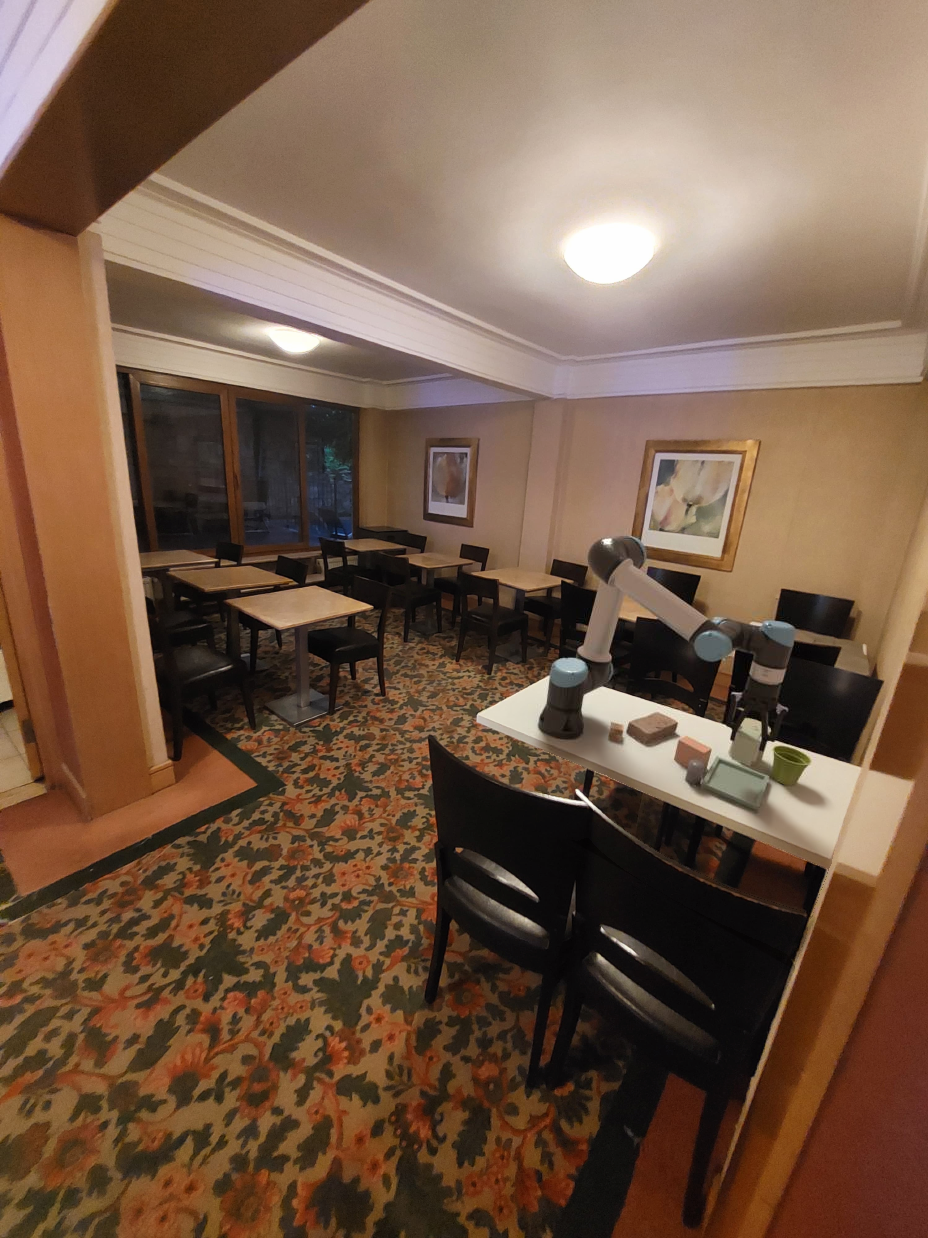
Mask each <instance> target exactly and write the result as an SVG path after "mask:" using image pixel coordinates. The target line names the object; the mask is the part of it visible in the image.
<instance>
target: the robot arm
mask: <svg viewBox="0 0 928 1238" xmlns="http://www.w3.org/2000/svg"><path fill="white" fill-rule="evenodd" d="M646 560H647V549H646V547H645V545H644V544H643V542H642V541H641V540H640V539H639V538H637V537H636V536H631V535H619V536H610V537H602V538H599V539H598V540H596V541H594V543H593V544H592V545H591V547H590V548H589V550H588V552H587V564H588V567H589V569H590V570H591V572H592V573H593V574H594V575H595V576H596V577H597V578H598V579H599V584H598V588H597V592H596V595H595V599H594V603H593V606H592V612H591V614H590V615H591V616H590V619H589V623H588V628H587V630H586V634H585V638H584V643H583V645H581V646H579V647H578V648H577V651H576V655H575V657H567V658H566V657H562V658H559V659H557V660H555V661H554V662H553V663H552V664H551V667H550V668H551V669H550V671H549V681H548V688H547V694H546V695H547V696H546V703H545V705H544V707H543V709H542V711H541V712H540V715H539V717H538V727H539V729H540V730H541V731H542V732H543V733H545V734H546V733H547V734H546V735H548V734H549V735H548V736H550V737H553V736H554V738H557V739H564V740H572V739H573V740H574V739H576V738H579V737H581V736H582V735H583V734H584V731H585V722H584V716H583V711H582V709H583V702H584V697H585V695H587V694H589V693H592V692H593V691H595V690H597V689H600V688H602V687H604V686H605V685H606V684H607V683H608V682H609V681H610V680H611V678H612V676H613V674H614V666H613V663H612V655H611V653H610V648H611V645H612V642H613V638H614V635H615V631H616V628H617V624H618V620H619V616H620V612H621V610H622V607H623V602H624V599H625V595H627V596H628V597H629V598H631V599H632V600H633V601H634V602H636V604H639V605H640V606H641V607H643V608H644V609H645V610H646V611H648V612H649V613H650V614H652V615H653V616H655V617H656V618H657V619H659V620H660V621H661V622H662V623H663V624H665V625H666V626H668V627H669V628H670V629H672V630H673V631H675V632H676V633H677V634H678V635H680V636H681V637H683V638H684V639H685V640H686V641H688V642H689V643H690V644H691V645H692V646H693V647H694V648H693V649H694V651H695V653H696V655H697V656H698V657H699V658H700V659H702V660H704V661H707V662H717V661H720V660H723V659H724V658H727V657H729V655H730V654H732V653H733V652H734V651H741V652H744V653H748V654H753V658H752V662H751V666H750V670H749V675H748V677H747V680H746V681H747V682H746V685H745V688H744V690H743V691H742V692H737V691H732V692H731V694H730V696H729V697H730V701H731V702H730V706H729V711H728V713H727V719H726V722H725V726H726V727H727V728H729V729H731V734H730V737H729V739H730V741H731V742H732V741H734V743H733V747H732V751H731V753H732V754H733V752H734V748H735V744H736V741H737V737H738V735H739V733H740V731H741V730H740V729H739V727H740V725H741V724H742V722H743V721H744V719H745V718H747V716H748V714H749V713H750V711H752V712H757V713H758V714H760V718H761V720H760V722H761V734H762V737H759V739H758V742H757V745H756V749H755V752H754V756H753V759H752V761H754V762H755V761H756V758H757V755H758V752H759V750H760V751H762V752H763V751H764V749H765V750H766V747H767V744H766V742H767V743H768V742H772V743H774V742H776V740H777V737H778V735H779V734H778V733H779V731H780V727H781V724H782V721H783V719H784V717H786V715H787V714H788V712H789V707H787V706H783V705H782V704H781V703H779V700H778V698H779V695H780V690H781V688H782V682H783V680H784V677H785V675H786V671H787V666H788V663H789V660H790V656H791V654H792V650H793V647H794V645H795V643H794V642H795V637H796V633H797V629H796V628H795V626H794V625H791V624H789V623H788V622H785V621H781V620H780V621H779V620H778V621H777V620H770V619H769V620H764V621H763V622H762V625H756V624H750V623H746V622H743V621H739V620H735V619H731V618H729V617H721V616H720V617H719V616H716V617H713V618H712V619H709V618H708V617H707V616H705V615H704V614H702V613H701V612H700V611H698V610H697V609H696V608H694V607H693V606H691V605H690V604H688V603H687V602H686V601H684V600H682V599H681V598H680V597H678V596H677V595H676V594H675V593H673V592H671V591H670V590H669V589H668V588H666V587H664V585H661V584H660V583H659V582H657V581H656V580H655V579H653V578H652V577H650V576H649V575H647V574H646V573H645V572H643V571H642V570H641V568H643V566H644V565H645V563H646ZM740 699H742V700H743V702H744V705H745V708H744V709H743V710H742V711H741V714H740V715H739V717H738V719H737V720H736V721H735V723H734V719H735V718H734V717H735V714H736V710H737V705H738V702H739V701H740ZM774 709H776V713H777V716H776V719H775V722H774V725H773V729H772V730H771V733H770V735H768V726H769V712H770V711H773V710H774ZM765 746H766V747H765ZM764 752H765V751H764Z"/></svg>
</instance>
